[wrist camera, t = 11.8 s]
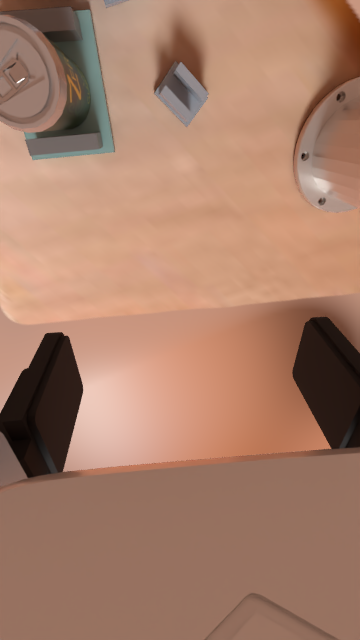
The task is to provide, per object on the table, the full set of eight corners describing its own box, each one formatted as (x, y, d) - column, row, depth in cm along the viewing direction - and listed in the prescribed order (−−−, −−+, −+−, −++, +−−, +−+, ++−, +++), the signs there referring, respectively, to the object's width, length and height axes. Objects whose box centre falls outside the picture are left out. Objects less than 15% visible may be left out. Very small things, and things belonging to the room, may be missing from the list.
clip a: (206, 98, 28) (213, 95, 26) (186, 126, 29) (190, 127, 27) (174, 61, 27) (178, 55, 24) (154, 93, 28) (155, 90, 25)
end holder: (90, 11, 24) (82, -6, 21) (114, 151, 30) (111, 155, 27) (-9, 19, 24) (-34, 2, 21) (34, 159, 29) (20, 164, 26)
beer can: (60, 142, 28) (16, 152, 19) (14, 80, 26) (-66, 54, 16) (104, 106, 27) (83, 96, 17) (62, 37, 25) (8, -21, 15)
